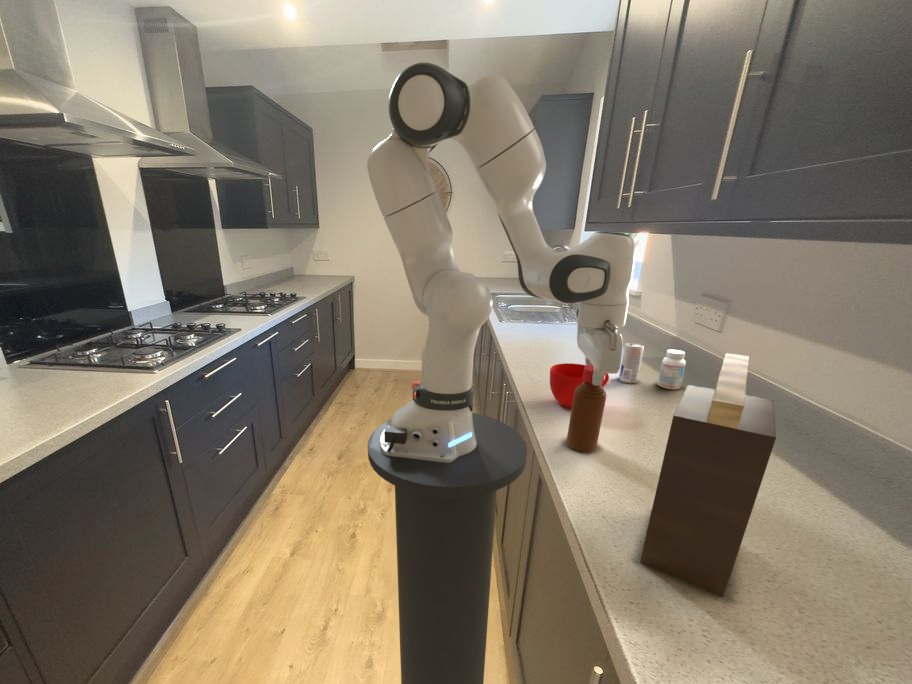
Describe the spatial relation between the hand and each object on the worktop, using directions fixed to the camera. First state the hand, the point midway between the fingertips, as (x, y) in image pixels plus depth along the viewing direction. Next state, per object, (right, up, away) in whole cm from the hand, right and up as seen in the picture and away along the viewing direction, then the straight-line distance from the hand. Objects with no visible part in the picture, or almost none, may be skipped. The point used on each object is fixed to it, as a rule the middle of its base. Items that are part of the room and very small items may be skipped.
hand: (592, 380), depth 88 cm
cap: (0, +2, -1) cm, 2 cm away
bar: (+5, -2, -30) cm, 30 cm away
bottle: (0, -15, +6) cm, 16 cm away
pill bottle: (+42, -2, +39) cm, 58 cm away
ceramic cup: (+9, -6, +29) cm, 31 cm away
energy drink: (+32, 0, +45) cm, 55 cm away
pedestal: (+2, -26, -25) cm, 37 cm away
